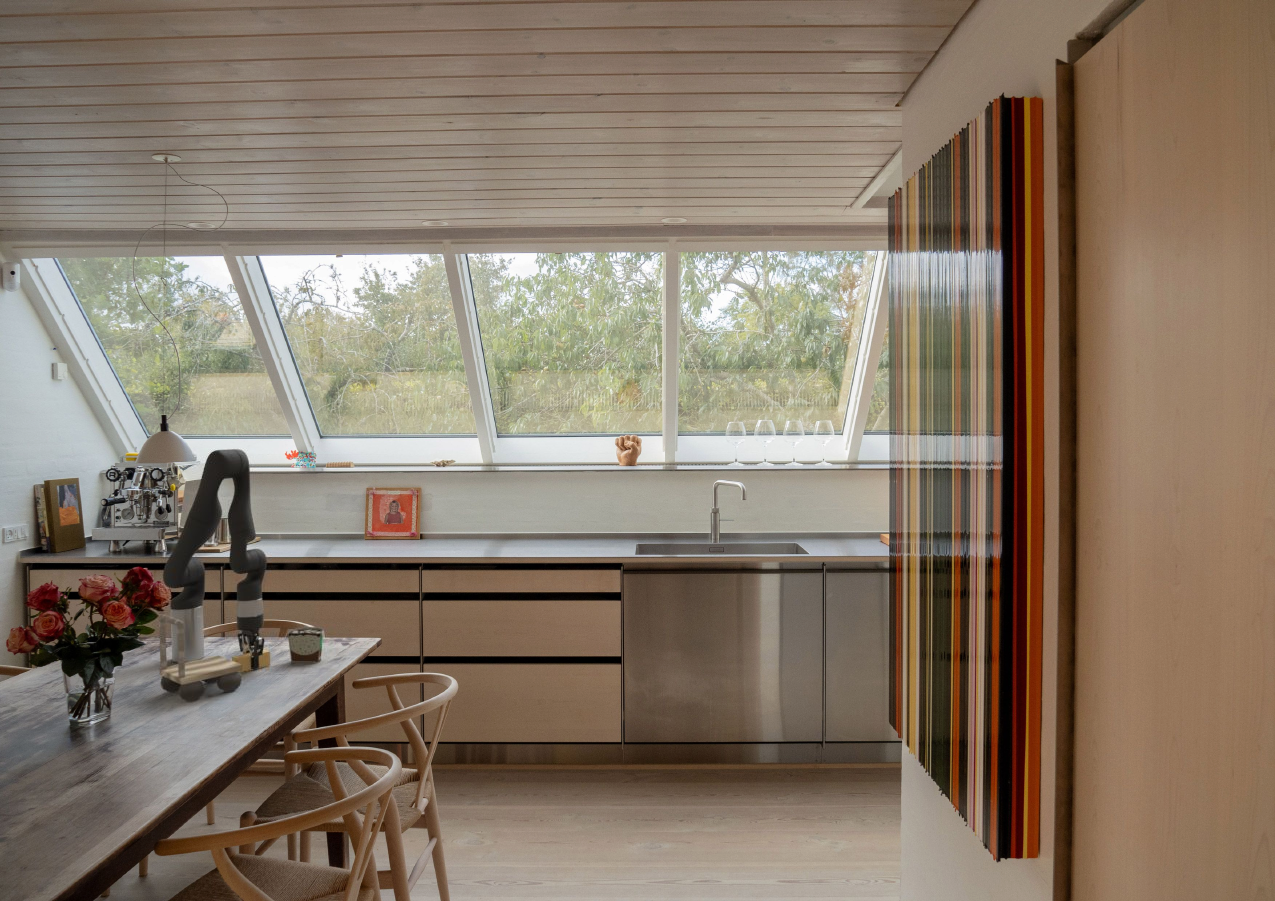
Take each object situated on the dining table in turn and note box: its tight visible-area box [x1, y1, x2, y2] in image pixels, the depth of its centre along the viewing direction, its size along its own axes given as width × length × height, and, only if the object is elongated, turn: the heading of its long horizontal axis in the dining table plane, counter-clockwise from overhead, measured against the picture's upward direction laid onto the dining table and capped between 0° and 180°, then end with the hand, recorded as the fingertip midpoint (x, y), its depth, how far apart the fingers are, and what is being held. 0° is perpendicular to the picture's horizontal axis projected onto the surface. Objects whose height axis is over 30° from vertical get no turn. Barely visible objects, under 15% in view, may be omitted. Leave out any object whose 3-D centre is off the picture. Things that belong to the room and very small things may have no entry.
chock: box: [231, 649, 271, 674], centre depth 244 cm, size 4×10×4 cm, turn 140°
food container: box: [286, 626, 326, 663], centre depth 252 cm, size 12×6×10 cm, turn 84°
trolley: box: [158, 613, 242, 703], centre depth 222 cm, size 16×16×23 cm
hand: (251, 666), depth 244 cm, fingers closed on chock, 4 cm apart
